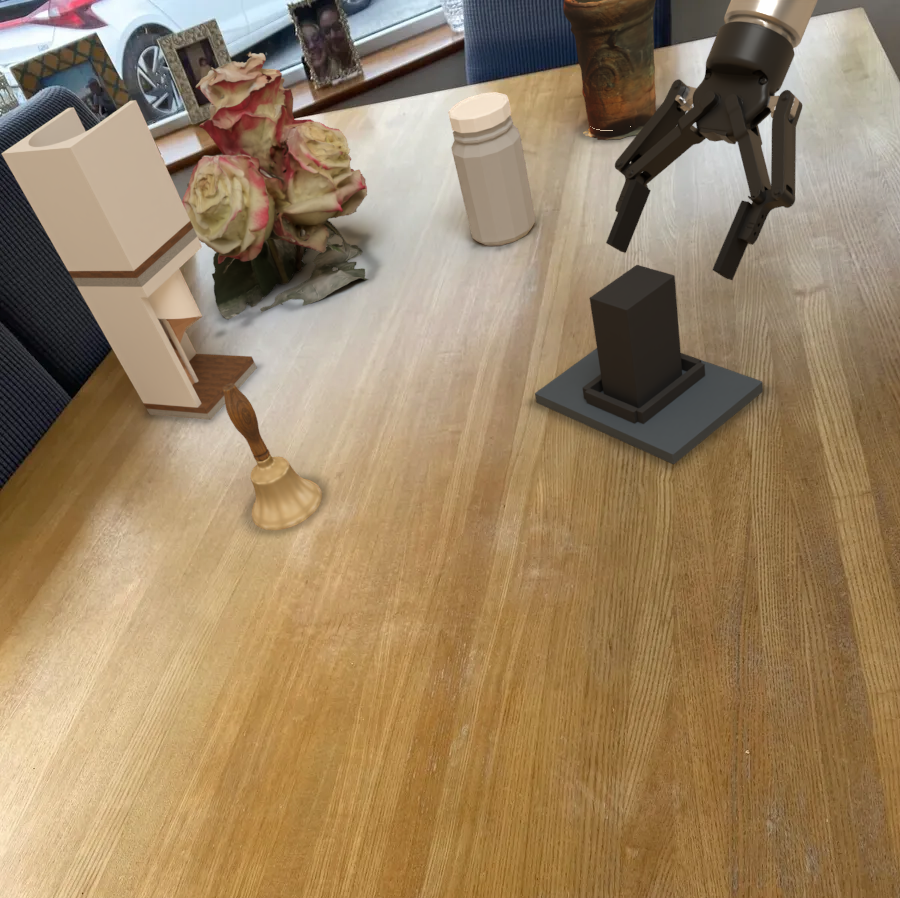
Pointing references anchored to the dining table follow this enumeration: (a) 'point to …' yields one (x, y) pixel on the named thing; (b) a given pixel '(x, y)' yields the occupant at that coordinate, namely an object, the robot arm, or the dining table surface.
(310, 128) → the rose bouquet
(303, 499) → the hand bell
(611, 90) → the vessel
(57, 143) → the coffee grinder
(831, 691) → the dining table surface
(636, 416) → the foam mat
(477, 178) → the jar
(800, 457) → the dining table surface
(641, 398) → the pad block
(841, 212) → the dining table surface
